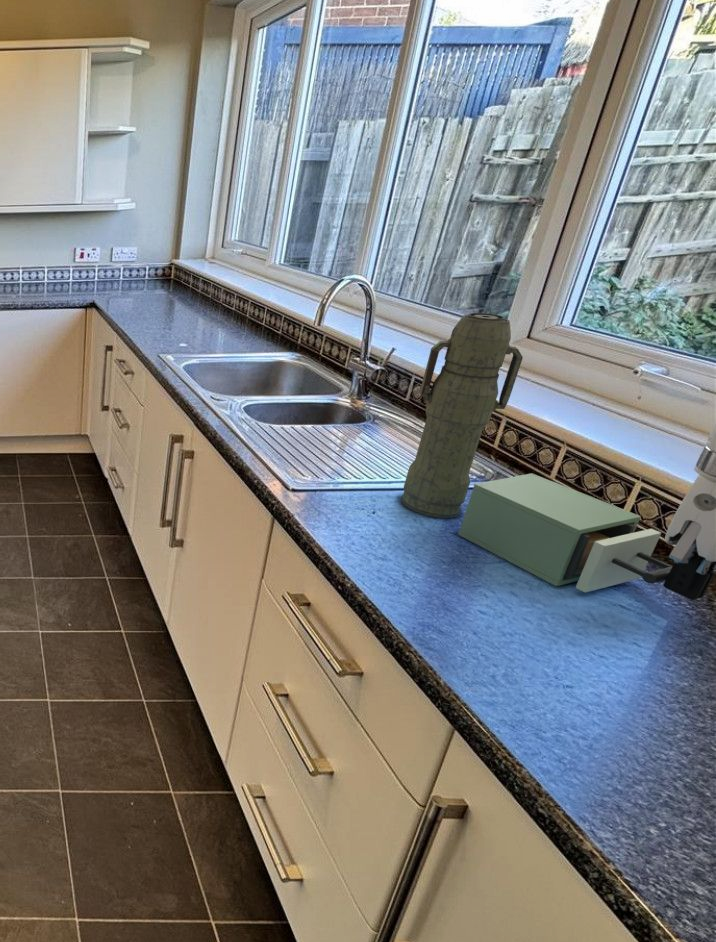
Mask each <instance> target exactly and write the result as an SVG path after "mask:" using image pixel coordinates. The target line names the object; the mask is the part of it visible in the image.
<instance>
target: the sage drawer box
mask: <svg viewBox="0 0 716 942" xmlns="http://www.w3.org/2000/svg"><path fill="white" fill-rule="evenodd" d="M641 517H642V516H641V515H639V514H636V513H634V512H632V511H628V510H626V509H623V508H621V507H618V506H616V505H614V504H611V503H608V502H605V501H603V500H601V499H598V498H595V497H594V496H591V495H588V494H586V493H583V492H580V491H578V490H576V489H572V488H570V487H568V486H565V485H562V484H560V483H557V482H555V481H552V480H549V479H547V478H545V477H543V476H539V475H537V474H535V473H532V472H531V473H526V474H521V475H515V476H510V477H504V478H500V479H494V480H487V481H483V482H477V483H474V485H473V488H472V491H471V494H470V497H469V500H468V504H467V506H466V510H465V513H464V516H463V519H462V522H461V525H460V528H459V531H458V534H457V535H458V536H460V537H462V538H464V539H466V540H467V541H469V542H471V543H473V544H475V545H477V546H478V547H480V548H482V549H485V550H486V551H488V552H490V553H492V554H494V555H496V556H498V557H500V558H501V559H504V560H505V561H508V562H509V563H511V564H513V565H515V566H517V567H519V568H521V569H522V570H524V571H526V572H528V573H530V574H532V575H534V576H536V577H537V578H539V579H542V580H543V581H545V582H547V583H548V584H551V585H553V586H554V587H560V586H563V585H567V584H572V583H575V582H578V580H579V578H580V577H577V578H573V579H567V578H565V577H564V574H565V572H566V569H567V567H568V564H569V562H570V560H571V557H572V555H573V552H574V550H575V547H576V545H577V542H578V540H579V538H580V535H581V534H583V533H588V532H592V531H597V530H601V529H606V528H610V527H614V526H619V525H623V524H628V523H630V524H632V525H635V528H634V531H633V533H634V532H636V529H637V527H638V525H639V522H640V520H641Z"/></svg>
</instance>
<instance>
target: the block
mask: <svg viewBox="0 0 716 942" xmlns="http://www.w3.org/2000/svg"><path fill="white" fill-rule="evenodd" d="M584 534H587V535H589V536H590V538H589V541H588V543H587V546H586V548H585V550H584V553H583V555H582V558H581V560H580V562H579V565H578V567H577V568H581V567H584V566H585V564H586V561H587V559H588V557H589V554H590V552H591V550H592V547H593V545H594V542H595V541H600V540H604V539H608V538H610V537H607V536H605V535H603V534H601V533H598V532H596V531H592V532H588V533H584Z"/></svg>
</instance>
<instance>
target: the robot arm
mask: <svg viewBox="0 0 716 942" xmlns="http://www.w3.org/2000/svg"><path fill="white" fill-rule="evenodd" d="M700 453H701V454H700V456H699V457H698V459H697V461H696V463H695V466H694V468H693V469H694V472H696V473H697V474H698V475H697V477H696V479H695V480H694V481H693V483H692V485H691V486H690V488H689V489H688V491H687V492H686V494H685V496H684V497H683V499H682V500H681V502H680V504H679V505H678V508H677V509H676V511H675V514H674V515H673V517H672V519H671V521H670V523H669V525H668V528H667V529H666V533H665V536H664V541H665V542H666V544H667V545H669V546H674V547H673V549H672V550H671V552H670V553H669V555H668V558H669V559H671V560H673V564H672V565H671V566H672V568H671V570H670V572H669V574H668V576H667V578H666V580H664V582H663V587H664V588H665V589H667V590H669V591H671V592H673V593H676V594H678V595H680V596H682V597H684V598H686V599H688V600H691V601H694V600H698V599H702V598H704V597H705V594H706V593H707V591H708V589H709V587H710V585H711V583H712V581H713V580H714V578H715V575H716V422H715V423H714V425H713V428H712V429H711V432H710V434H709V436H708V438H707V440H706V442H705V445H704V447H703V448H702V451H701V452H700Z"/></svg>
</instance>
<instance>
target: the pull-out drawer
mask: <svg viewBox="0 0 716 942" xmlns="http://www.w3.org/2000/svg"><path fill="white" fill-rule="evenodd" d="M634 528H635V525H632V524H630V523H628V524H623V525H619V526H614V527H610V528H606V529H601V530H597V531H596V532H598V533H601V534H603V535H605V536H607V537H610V538H608V539H604V540H600V541H595V542H594V545H593V547H592V550H591V552H590V554H589V557H588V559H587V561H586V564H585V566H584V567H581V568H577V567H578V565H579V562H580V560H581V558H582V555H583V553H584V550H585V548H586V546H587V543H588V541H589V538H590V536H589V535H587V534H584V533H583V534H581V535H580V538H579V540H578V542H577V545H576V547H575V550H574V552H573V555H572V557H571V560H570V562H569V564H568V567H567V569H566V572H565V574H564V577H565V578H567V579H573V578H577V577H580V578H579V580H578V581H577V583H576V586H575V589H576V590H579V591H581V592H583V593H589V592H592V591H597V590H600V589H604V588H608V587H612V586H617V585H620V584H624V583H628V582H632V581H636V580H639V579H641V578H642V580H643V581H644V582H645V583H647V584H656V583H660V582H663V581H664V582H665V580H666V578H667V576H668V574H669V572H670V570H671V568H672V566H673V565H671V564H668V563H666V562H664V561H662V560H660V559H658V558H655V557H652V554H653V553H654V550H655V548H656V546H657V544H658V542H659V539H660V537H661V535H662V532H661V531H658V530H656V529H654V528H648V529H644V530H639V531H634ZM633 531H634V533H633ZM648 563H650V564H653V565H654V566H655V565H656V566H657V567H659V568H660V569H656V570H653V571H652V570H651V571H648V572H647V571H646V570H645V569H646V567H647V566H648Z"/></svg>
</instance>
